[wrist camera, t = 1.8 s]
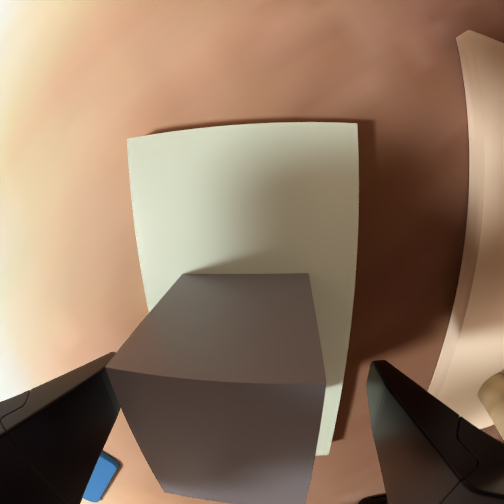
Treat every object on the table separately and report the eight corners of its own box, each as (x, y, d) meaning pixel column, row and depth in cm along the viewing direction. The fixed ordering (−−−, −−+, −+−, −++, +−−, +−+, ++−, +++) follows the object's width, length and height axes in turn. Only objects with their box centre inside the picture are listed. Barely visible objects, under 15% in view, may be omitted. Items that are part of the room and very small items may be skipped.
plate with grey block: (348, 127, 9) (437, 86, 3) (326, 437, 13) (333, 541, 7) (143, 140, 10) (7, 136, 4) (191, 431, 14) (158, 527, 8)
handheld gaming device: (29, 465, 19) (19, 401, 14) (34, 458, 20) (27, 392, 15) (94, 507, 19) (117, 469, 15) (98, 500, 20) (122, 458, 16)
